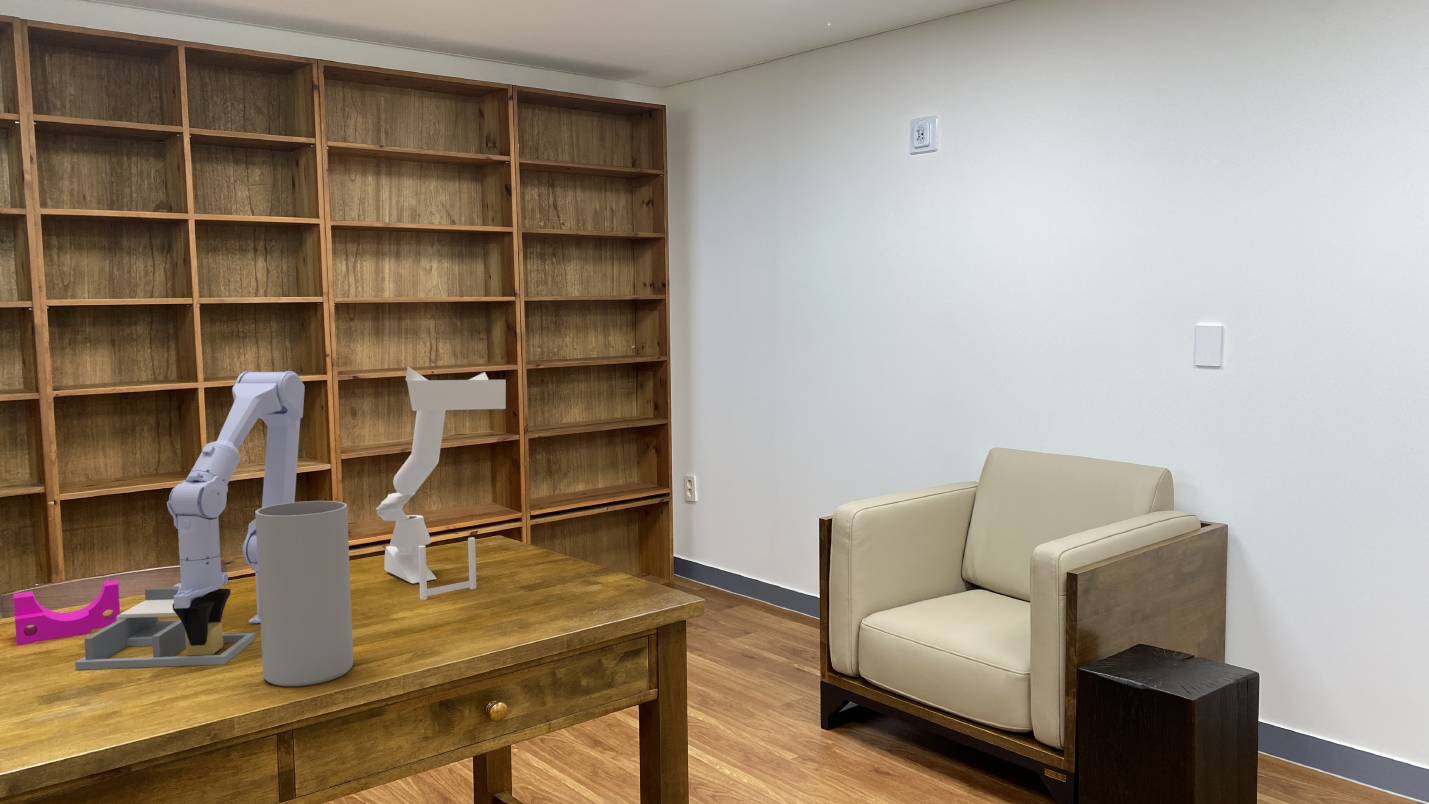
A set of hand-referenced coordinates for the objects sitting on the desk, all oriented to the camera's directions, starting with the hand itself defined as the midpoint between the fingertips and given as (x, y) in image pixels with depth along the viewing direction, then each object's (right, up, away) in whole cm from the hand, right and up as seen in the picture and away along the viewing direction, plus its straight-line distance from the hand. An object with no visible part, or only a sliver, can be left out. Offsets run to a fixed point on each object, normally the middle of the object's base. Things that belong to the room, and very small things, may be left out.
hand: (204, 640), depth 156 cm
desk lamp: (+24, 0, +34) cm, 42 cm away
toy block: (-30, -2, +12) cm, 32 cm away
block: (0, -2, 0) cm, 2 cm away
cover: (-11, +2, +10) cm, 15 cm away
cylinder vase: (+21, -3, -10) cm, 23 cm away
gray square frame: (-5, -2, +5) cm, 8 cm away
